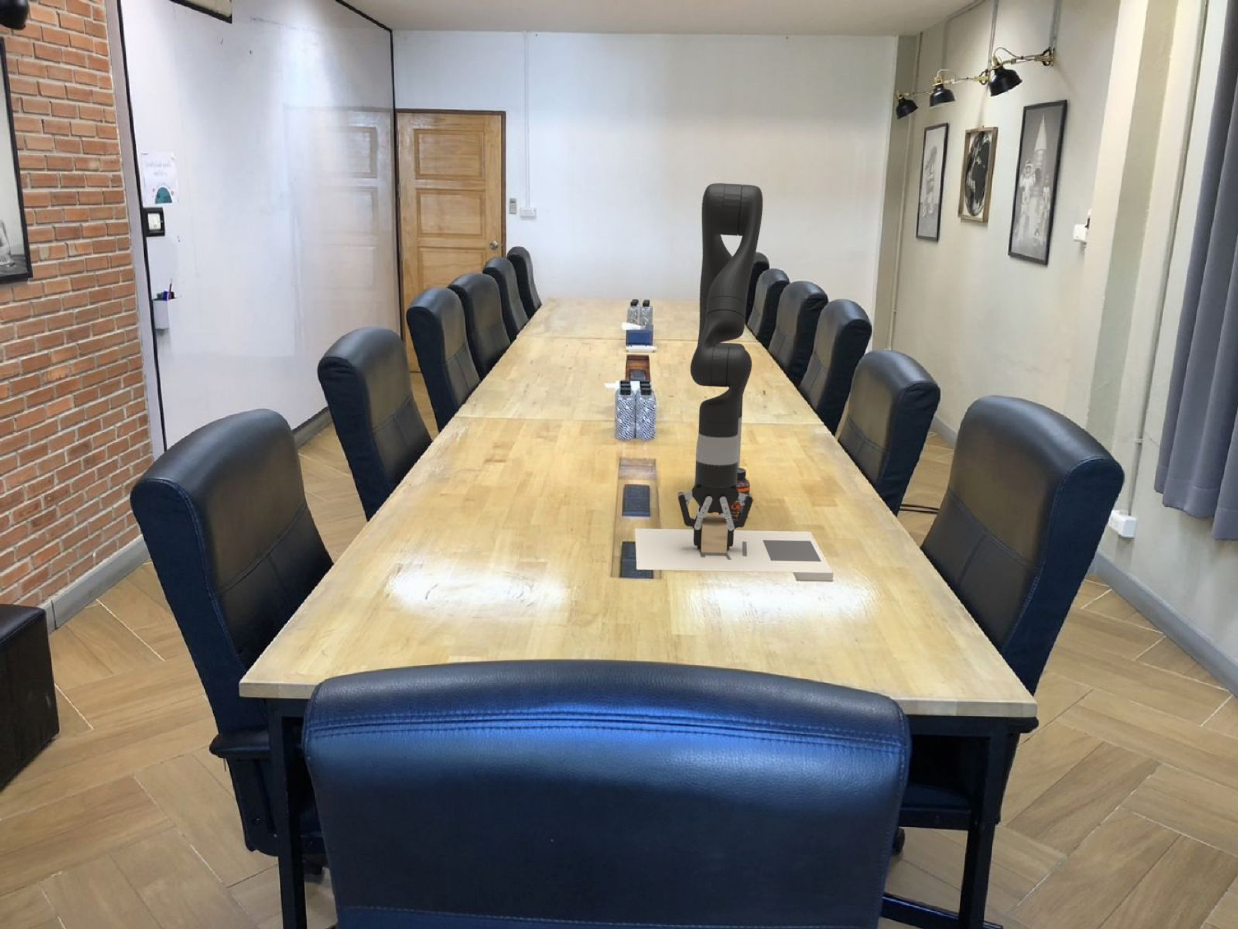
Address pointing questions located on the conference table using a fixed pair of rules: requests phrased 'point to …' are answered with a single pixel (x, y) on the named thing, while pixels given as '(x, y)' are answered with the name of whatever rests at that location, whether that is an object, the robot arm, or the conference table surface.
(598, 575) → the conference table surface
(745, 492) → the supplement bottle
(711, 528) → the block
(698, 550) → the board
